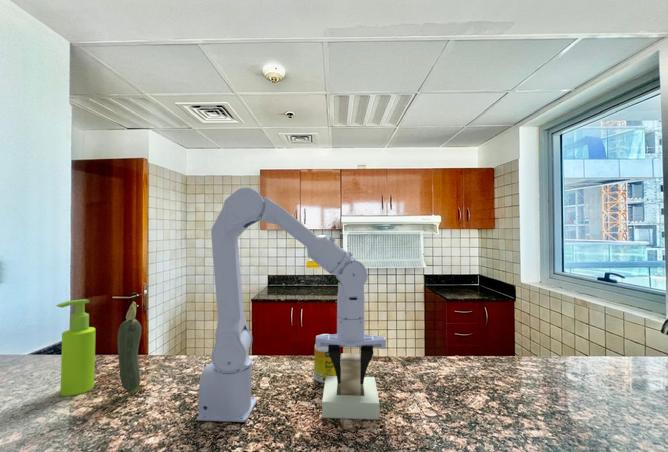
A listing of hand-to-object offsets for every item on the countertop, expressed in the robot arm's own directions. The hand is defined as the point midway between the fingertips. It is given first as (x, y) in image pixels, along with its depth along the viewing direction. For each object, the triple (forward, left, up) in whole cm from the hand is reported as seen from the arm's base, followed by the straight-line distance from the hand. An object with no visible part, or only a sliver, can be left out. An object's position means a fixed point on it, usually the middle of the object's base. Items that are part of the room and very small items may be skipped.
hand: (350, 381), depth 65 cm
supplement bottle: (-6, +11, -5) cm, 13 cm away
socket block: (0, 0, -4) cm, 4 cm away
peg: (0, 0, -3) cm, 3 cm away
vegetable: (-48, +1, -5) cm, 49 cm away
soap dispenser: (-61, +2, -5) cm, 62 cm away
